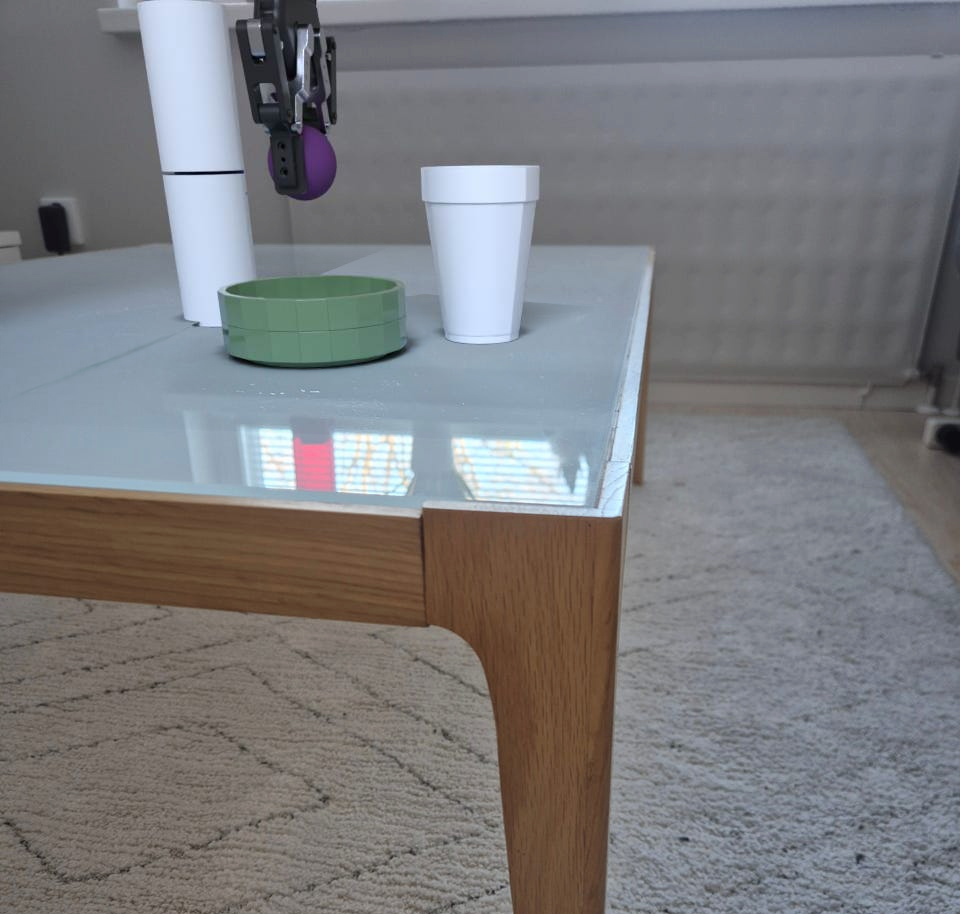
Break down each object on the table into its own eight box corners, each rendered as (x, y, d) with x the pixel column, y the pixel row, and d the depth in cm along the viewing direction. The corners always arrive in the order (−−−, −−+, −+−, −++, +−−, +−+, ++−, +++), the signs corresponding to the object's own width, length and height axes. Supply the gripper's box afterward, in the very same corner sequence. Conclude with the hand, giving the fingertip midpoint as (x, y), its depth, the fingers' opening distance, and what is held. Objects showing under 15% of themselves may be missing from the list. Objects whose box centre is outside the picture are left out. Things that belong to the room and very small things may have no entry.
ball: (261, 202, 68) (252, 124, 66) (285, 199, 73) (278, 125, 70) (327, 202, 67) (321, 123, 65) (347, 198, 72) (342, 124, 69)
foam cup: (465, 324, 86) (462, 165, 80) (555, 332, 82) (560, 165, 76) (405, 341, 79) (398, 168, 73) (501, 351, 75) (501, 168, 69)
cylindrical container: (170, 325, 87) (118, 2, 75) (207, 313, 93) (165, 12, 82) (240, 327, 86) (199, -2, 74) (274, 315, 92) (240, 8, 80)
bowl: (196, 369, 70) (186, 298, 68) (266, 334, 82) (259, 274, 80) (381, 373, 68) (376, 301, 66) (424, 337, 80) (421, 275, 78)
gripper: (263, -70, 69) (289, 188, 77) (175, -116, 56) (217, 198, 64) (363, -75, 67) (378, 188, 75) (295, -124, 55) (322, 197, 63)
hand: (304, 191), depth 70 cm, fingers closed on ball, 5 cm apart
